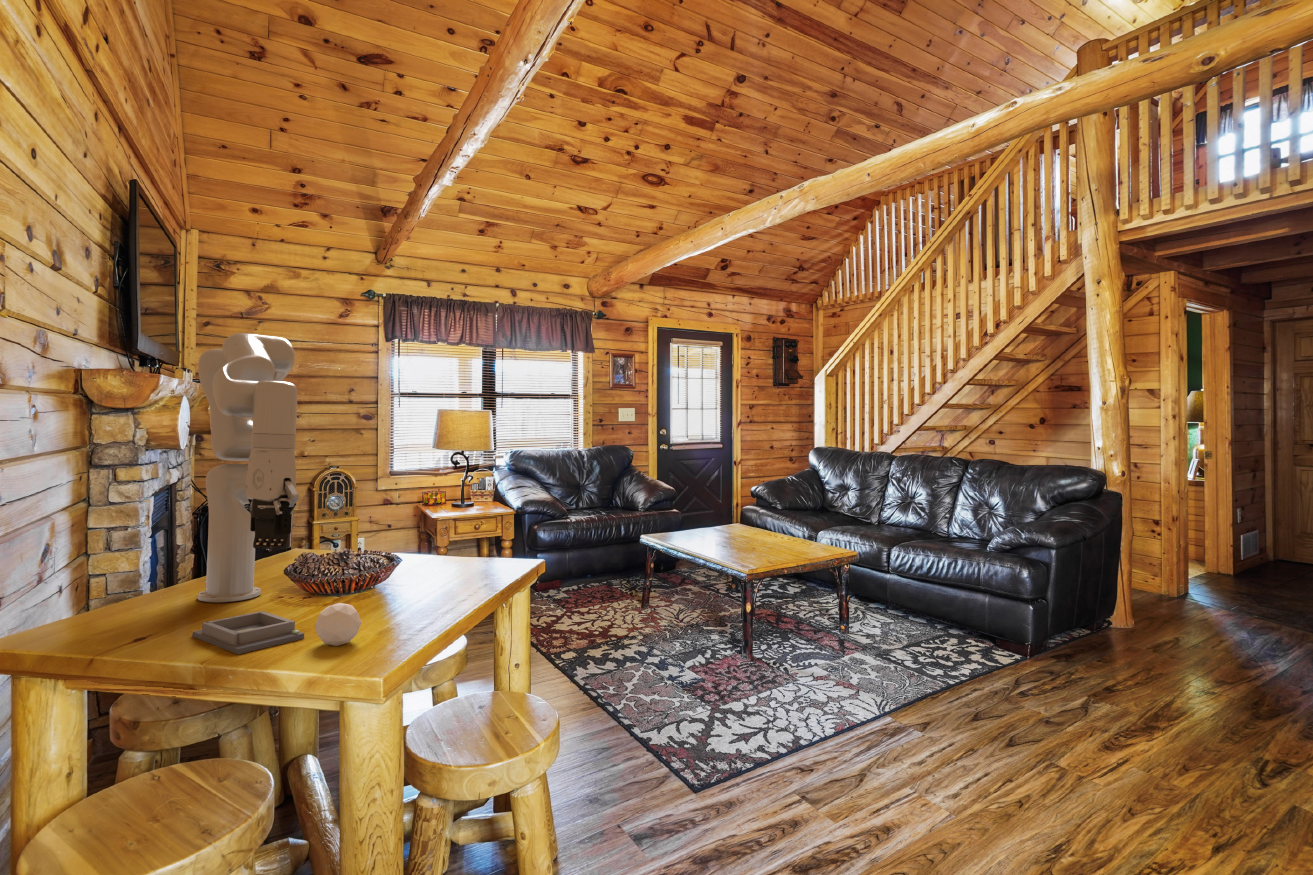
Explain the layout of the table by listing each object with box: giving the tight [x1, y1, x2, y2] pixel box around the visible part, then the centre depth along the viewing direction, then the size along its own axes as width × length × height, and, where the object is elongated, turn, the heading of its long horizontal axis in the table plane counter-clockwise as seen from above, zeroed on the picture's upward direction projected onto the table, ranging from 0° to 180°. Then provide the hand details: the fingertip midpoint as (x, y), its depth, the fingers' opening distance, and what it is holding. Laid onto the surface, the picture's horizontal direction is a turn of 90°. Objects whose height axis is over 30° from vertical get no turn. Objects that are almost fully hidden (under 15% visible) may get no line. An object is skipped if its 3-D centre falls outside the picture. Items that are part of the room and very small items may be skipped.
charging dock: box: [191, 610, 305, 655], centre depth 125 cm, size 17×12×3 cm
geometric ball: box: [314, 602, 362, 647], centre depth 124 cm, size 8×8×8 cm
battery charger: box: [250, 496, 295, 550], centre depth 129 cm, size 7×4×11 cm, turn 93°
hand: (270, 531), depth 129 cm, fingers closed on battery charger, 7 cm apart
